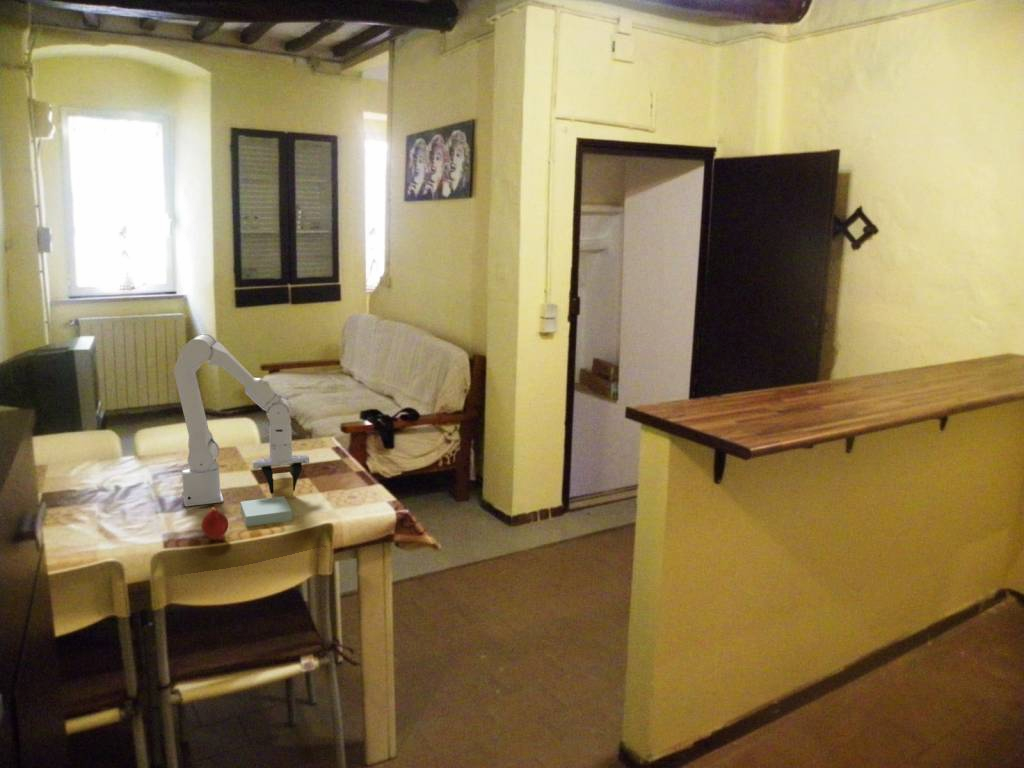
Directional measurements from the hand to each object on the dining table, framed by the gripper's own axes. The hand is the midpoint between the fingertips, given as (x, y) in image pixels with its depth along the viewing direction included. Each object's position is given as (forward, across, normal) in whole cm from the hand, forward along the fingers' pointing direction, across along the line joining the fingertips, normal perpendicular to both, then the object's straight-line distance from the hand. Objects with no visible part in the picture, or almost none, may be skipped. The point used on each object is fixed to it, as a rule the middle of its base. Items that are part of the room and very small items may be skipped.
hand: (282, 491), depth 210 cm
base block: (+2, -6, -12) cm, 14 cm away
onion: (+2, -19, -23) cm, 30 cm away
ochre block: (+2, 0, 0) cm, 2 cm away
